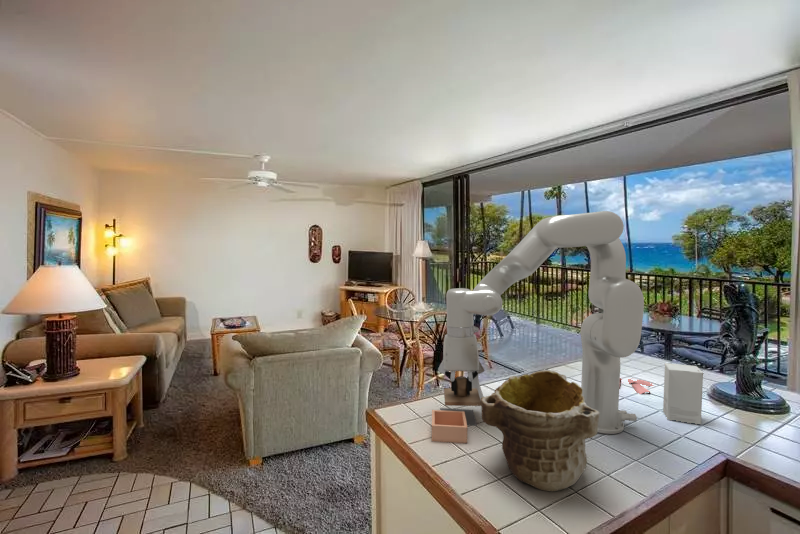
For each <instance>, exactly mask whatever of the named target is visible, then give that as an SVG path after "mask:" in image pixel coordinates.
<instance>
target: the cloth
mask: <svg viewBox="0 0 800 534" xmlns="http://www.w3.org/2000/svg"><path fill="white" fill-rule="evenodd" d="M621 378H622V377H620V385H619V389H620V388H621V384H622V383H621V380H622V379H621ZM631 379H632V378H631ZM631 379H628V382H629V384H628V385H631V387H632V389H633V388H634V389H633V390H635V391H636V392H635V391H634V392H635V393H636V394H638V393H639V395H642V394H643V393H645V392H649V393H650V394H649V395H651V391H650V390H649V389H647V387H644V386H641V385H640V384H642V385H646V386H654V385H652V384H653V383H652V382H650V381H647V380H643V379H637V381H633V380H631ZM631 383H632V384H631ZM650 383H651V384H650Z"/></svg>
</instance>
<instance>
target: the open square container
mask: <svg viewBox="0 0 800 534" xmlns="http://www.w3.org/2000/svg"><path fill="white" fill-rule="evenodd" d="M431 442H437V443H456V444H457V443H458V444H468V425H467V422H466V417H465V412H464V411H444V410H440V409H432V410H431Z"/></svg>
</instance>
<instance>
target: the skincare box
mask: <svg viewBox="0 0 800 534" xmlns="http://www.w3.org/2000/svg"><path fill="white" fill-rule="evenodd" d="M663 375H664V376H663V377H664V379H663V380H664V382H663V405H662V406H663V407H662V412H663V414H664V415H666V416H665V417H667V418H666V419H667V420H668V419H669V420H668V421H672V420H676V421H675V422H678V421H681V422H680V423H684V422H687V424H691V423H695V424H694V425H697V424H701V425H702V409H703V408H702V407H703V406H702V405H703V387H704V386H703V385H704V384H703V383H704V382H703V381H704V372H703V370H701V369H700V368H699V367H698V366H697V365H690V364H689V365H688V364H678V363H669V362H665V363H664V374H663Z"/></svg>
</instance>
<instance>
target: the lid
mask: <svg viewBox="0 0 800 534" xmlns="http://www.w3.org/2000/svg"><path fill="white" fill-rule="evenodd" d="M455 379H456V389H457V395H454V391H451V387H447V388H443V395H444V397H443V398H444V406H448V407H449V406H450V407H451V406H453V407H457V406H458V407H460V406H461V407H462V406H463V407H471V406H472V407H481V400H480V397H479V393H478V390H477V388H472V391H470V395H467V376H463V375H462V376H461V375H458V376H455Z"/></svg>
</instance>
